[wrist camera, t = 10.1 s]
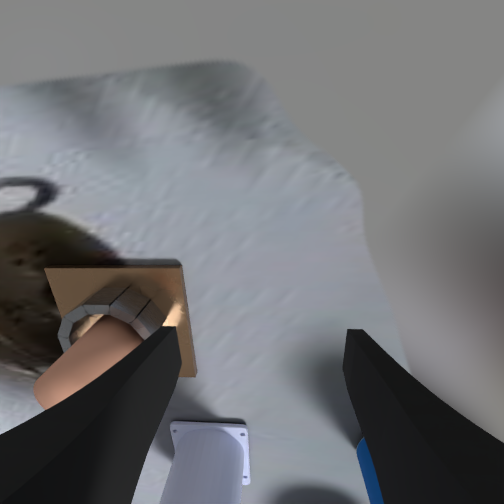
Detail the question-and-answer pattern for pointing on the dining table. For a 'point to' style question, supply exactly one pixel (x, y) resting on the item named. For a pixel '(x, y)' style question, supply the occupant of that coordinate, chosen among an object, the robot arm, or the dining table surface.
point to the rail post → (86, 360)
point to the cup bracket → (123, 301)
